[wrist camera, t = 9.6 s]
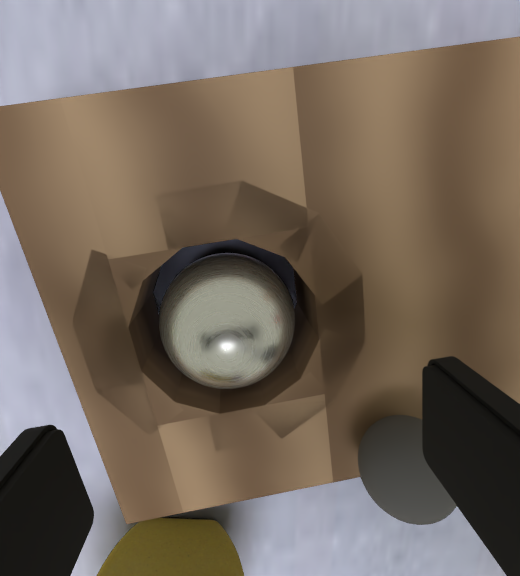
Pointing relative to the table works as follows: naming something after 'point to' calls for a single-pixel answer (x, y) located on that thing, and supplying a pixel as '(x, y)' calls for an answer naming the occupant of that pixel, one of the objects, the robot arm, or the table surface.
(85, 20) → the table surface
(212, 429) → the board
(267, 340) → the steel ball
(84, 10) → the table surface
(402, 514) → the gray ball
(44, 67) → the table surface
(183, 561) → the flower pot
